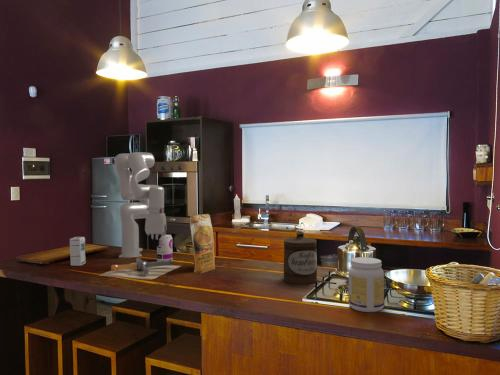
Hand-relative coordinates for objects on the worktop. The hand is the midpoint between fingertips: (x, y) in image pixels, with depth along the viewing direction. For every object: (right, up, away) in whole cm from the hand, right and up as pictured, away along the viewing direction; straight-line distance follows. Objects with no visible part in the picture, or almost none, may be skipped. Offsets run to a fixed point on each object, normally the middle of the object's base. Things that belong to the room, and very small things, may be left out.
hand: (155, 246), depth 201 cm
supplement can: (+2, -11, +13) cm, 17 cm away
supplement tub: (+89, -13, -60) cm, 108 cm away
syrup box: (-44, -11, +10) cm, 47 cm away
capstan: (-5, -10, -8) cm, 14 cm away
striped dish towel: (-5, -11, -8) cm, 15 cm away
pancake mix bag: (+25, -11, -5) cm, 28 cm away
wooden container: (+70, -12, -23) cm, 75 cm away
